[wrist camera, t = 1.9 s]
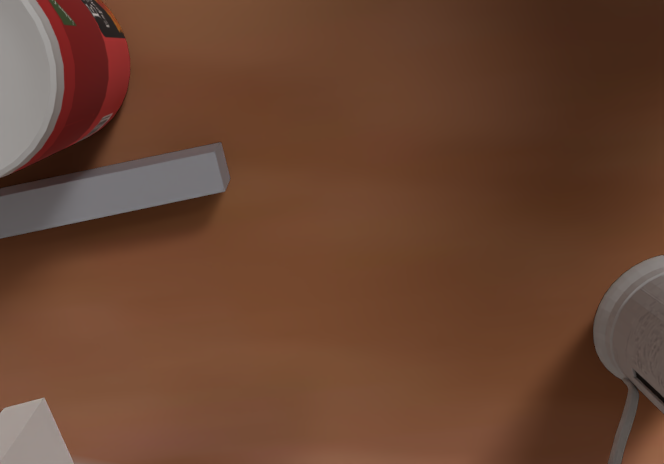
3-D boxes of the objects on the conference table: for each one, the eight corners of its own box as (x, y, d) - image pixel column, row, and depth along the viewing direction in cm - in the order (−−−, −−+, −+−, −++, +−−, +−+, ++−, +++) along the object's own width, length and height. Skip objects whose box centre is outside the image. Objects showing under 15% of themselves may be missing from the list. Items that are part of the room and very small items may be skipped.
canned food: (149, 4, 30) (76, -17, 20) (118, 159, 32) (37, 215, 22) (-14, -45, 29) (-181, -95, 19) (-35, 119, 31) (-197, 157, 21)
